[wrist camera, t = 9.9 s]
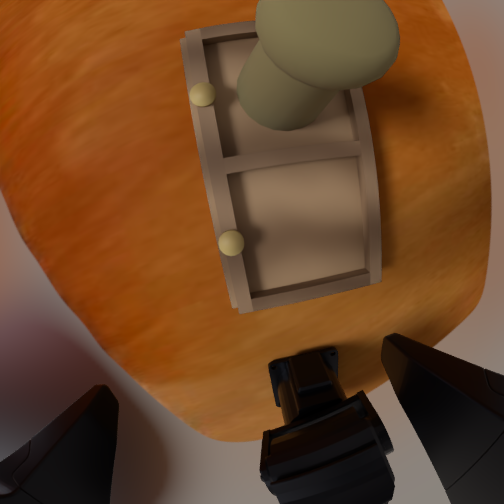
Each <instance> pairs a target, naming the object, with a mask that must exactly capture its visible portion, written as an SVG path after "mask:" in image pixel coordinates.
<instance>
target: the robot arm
mask: <svg viewBox="0 0 504 504" xmlns="http://www.w3.org/2000/svg"><path fill="white" fill-rule="evenodd" d="M332 352H333V353H332ZM381 360H382V363H383V365H384V368H385V370H386V372H387V375H388V377H389V379H390V382H391V384H392V386H393V389H394V391H395V394H396V396H397V398H398V400H399V402H400V404H401V406H402V408H403V409H404V411H405V413H406V415H407V417H408V418H409V420H410V422H411V424H412V425H413V428H414V429H415V431H416V433H417V435H418V437H419V439H420V440H421V442H422V444H423V446H424V448H425V450H426V452H427V454H428V456H429V458H430V460H431V462H432V464H433V466H434V468H435V470H436V472H437V474H438V476H439V478H440V480H441V483H442V485H443V487H444V489H445V490H446V494H447V496H448V498H449V500H450V503H451V504H504V375H501V374H499V373H496V372H493V371H490V370H488V369H484V368H482V367H480V366H477V365H475V364H472V363H469V362H467V361H464V360H462V359H459V358H457V357H454V356H452V355H449V354H446V353H444V352H442V351H439V350H437V349H434V348H432V347H429V346H427V345H424V344H422V343H420V342H417V341H415V340H412V339H410V338H407V337H405V336H402V335H400V334H398V333H393V334H390V335H387V336H385V337H384V339H383V344H382V352H381ZM272 366H275V367H272ZM268 368H269V373H270V378H271V383H272V388H273V393H274V397H275V402H276V406H277V407H281V409H282V414H283V419H284V423H285V425H284V426H281V427H279V428H276V429H273V430H267V431H264V432H263V439H262V449H261V460H260V473H261V476H260V477H261V480H262V481H263V482H265V484H266V486H267V487H268V489H269V491H270V492H271V493H272V494H273V495H275V496H277V498H278V501H279V503H280V504H388V502H389V501H390V500H392V497H393V493H394V488H395V485H394V481H395V477H394V475H393V472H392V470H391V467H390V465H389V463H388V460H387V457H386V455H388V454H390V453H391V452H393V451H394V449H393V445H392V442H391V440H390V437H389V435H388V433H387V431H386V429H385V426H384V424H383V423H382V421H381V419H380V417H379V416H378V414H377V412H376V411H375V409H374V408H373V406H372V404H371V403H370V401H369V399H368V398H367V396H366V395H365V393H364V391H363V390H361V391H359V392H357V394H356V395H354V396H352V397H350V398H348V399H347V397H346V395H345V393H344V391H343V389H342V387H341V385H340V383H339V380H338V351H337V349H336V348H335V347H331V348H327V349H324V350H320V351H316V352H312V353H308V354H303V355H299V356H295V357H290V358H286V359H281V360H276V361H272V362H270V363H269V364H268ZM118 413H119V403H118V400H117V399H116V397H115V396H114V394H113V393H112V391H111V390H110V388H109V387H108V386H107V385H105V384H97V385H94V386H93V387H92V388H91V389H90V390H88V391H87V392H86V393H85V394H84V395H83V396H81V397H80V398H79V399H78V400H77V401H75V402H74V403H73V404H72V405H71V406H69V407H68V408H67V409H66V410H65V411H64V412H62V413H61V414H60V415H59V416H58V417H56V418H55V419H54V420H53V421H52V422H50V423H49V424H48V425H47V426H46V427H44V428H43V429H42V430H41V431H40V432H38V433H37V434H36V435H35V436H34V437H32V438H31V440H29V441H28V442H26V443H25V444H24V445H23V446H22V447H20V448H19V449H18V450H17V451H15V452H14V453H13V454H11V455H10V456H8V457H7V458H5V459H4V460H3V461H1V462H0V504H110V496H111V485H112V476H113V467H114V460H115V452H116V445H117V431H118V415H119V414H118Z"/></svg>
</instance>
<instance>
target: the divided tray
mask: <svg viewBox="0 0 504 504" xmlns="http://www.w3.org/2000/svg"><path fill="white" fill-rule="evenodd" d="M255 22H256V21H246V22H237V23H229V24H222V25H216V26H210V27H205V28H200V29H195V30H190V31H186V32H185V36H186V38H183V39H180V44H181V51H182V58H183V64H184V71H185V77H186V83H187V90H188V96H189V102H190V107H191V113H192V119H193V125H194V130H195V136H196V141H197V146H198V152H199V157H200V162H201V167H202V173H203V178H204V183H205V188H206V193H207V197H208V202H209V207H210V212H211V217H212V221H213V226H214V231H215V235H216V240H217V244H218V249H219V253H220V258H221V262H222V267H223V271H224V275H225V280H226V284H227V288H228V292H229V296H230V301H231V305H232V308H237V307H238V310H239V314H242V313H248V312H253V311H258V310H263V309H268V308H273V307H278V306H283V305H288V304H292V303H297V302H301V301H306V300H310V299H315V298H319V297H323V296H328V295H332V294H336V293H340V292H344V291H348V290H352V289H356V288H360V287H364V286H367V285H371V284H375V283H379V282H381V277H382V248H381V220H380V204H379V192H378V181H377V172H376V164H375V156H374V149H373V142H372V136H371V130H370V124H369V119H368V114H367V109H366V104H365V99H364V95H363V90H362V87H360V88H357V89H346V90H340V91H339V92H338V93H337V94H336V95H335V97H334V98H333V99H332V100H331V101H330V102H329V104H328V105H327V106H326V107H325V108H324V109H323V111H322V112H321V113H320V114H319V115H318V116H317V118H316V119H315V120H314V121H313V122H312V123H310V124H308V125H307V126H305V127H303V128H301V129H296V130H292V131H279V130H272V129H270V128H267V127H264V126H262V125H260V124H258V123H257V122H256V121H254V120H253V119H251V118H250V117H249V116H248V115H247V113H246V112H245V111H244V109H243V108H242V107H241V105H240V102H239V99H238V96H237V93H236V92H237V79H238V77H239V74H240V72H241V70H242V68H243V66H244V64H245V63H246V61H247V59H248V58H249V56H250V54H251V52H252V51H253V49H254V47H255V46H256V44H257V43H258V41H259V37H258V35H257V32H256V29H255Z"/></svg>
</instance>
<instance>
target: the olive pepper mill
mask: <svg viewBox="0 0 504 504" xmlns="http://www.w3.org/2000/svg"><path fill="white" fill-rule="evenodd" d="M255 29H256V32H257V35H258V37H259V41H258V43H257V44H256V46H255V47H254V49H253V51H252V52H251V54H250V56H249V58H248V59H247V61H246V63H245V64H244V66H243V68H242V70H241V72H240V74H239V77H238V79H237V92H236V93H237V96H238V99H239V102H240V105H241V107H242V108H243V109H244V111H245V112H246V113H247V115H248V116H249V117H250V118H251V119H253V120H254V121H256V122H257V123H258V124H260V125H262V126H264V127H267V128H270V129H272V130H279V131H292V130H296V129H301V128H303V127H305V126H307V125H308V124H310V123H312V122H313V121H314V120H315V119H316V118H317V116H318V115H319V114H320V113H321V112H322V111H323V109H324V108H325V107H326V106H327V105H328V104H329V102H330V101H331V100H332V99H333V98H334V97H335V95H336V94H337V93H338V92H339V91H340V90H346V89H357V88H360V87H362V86H364V85H367V84H369V83H371V82H373V81H375V80H377V79H379V78H381V77H382V76H383V75H384V74H385V73H386V71H387V70H388V69H389V68H390V67H391V65H392V64H393V63H394V62H395V60H396V58H397V54H398V50H399V45H400V35H399V29H398V24H397V21H396V19H395V17H394V15H393V13H392V11H391V9H390V8H389V7H388V5H387V4H386V3H385V2H384V1H383V0H259V2H258V4H257V9H256V22H255Z"/></svg>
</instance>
